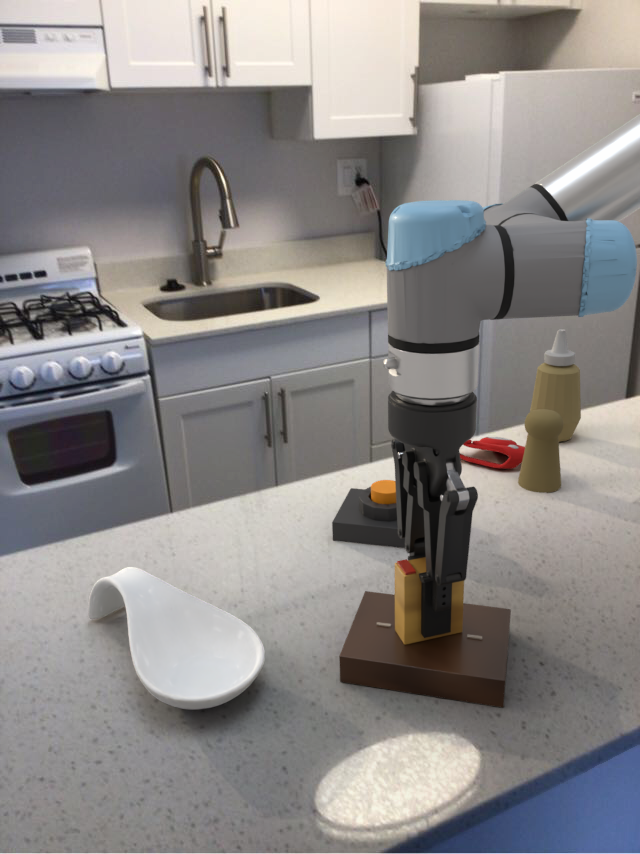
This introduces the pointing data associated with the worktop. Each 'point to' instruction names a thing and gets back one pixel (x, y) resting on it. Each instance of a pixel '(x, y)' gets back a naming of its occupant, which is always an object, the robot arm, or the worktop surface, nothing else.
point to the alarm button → (383, 492)
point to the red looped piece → (496, 445)
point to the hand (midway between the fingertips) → (428, 622)
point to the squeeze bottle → (559, 385)
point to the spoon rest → (180, 640)
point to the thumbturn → (419, 602)
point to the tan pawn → (541, 452)
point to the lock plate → (429, 654)
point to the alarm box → (366, 521)
